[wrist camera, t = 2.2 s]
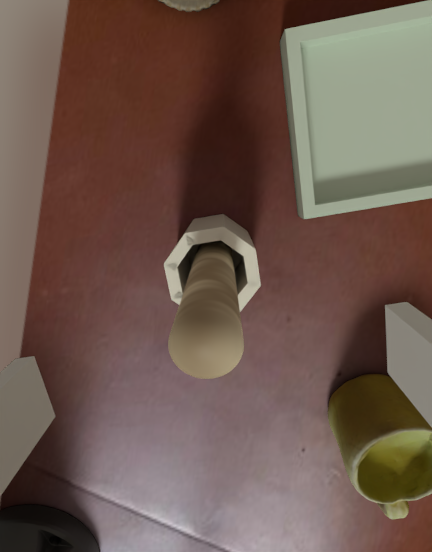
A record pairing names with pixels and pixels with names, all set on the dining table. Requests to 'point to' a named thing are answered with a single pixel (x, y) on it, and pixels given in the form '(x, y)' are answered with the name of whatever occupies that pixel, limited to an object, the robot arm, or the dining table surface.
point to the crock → (212, 231)
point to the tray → (360, 109)
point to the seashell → (189, 4)
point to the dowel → (208, 316)
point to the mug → (382, 442)
